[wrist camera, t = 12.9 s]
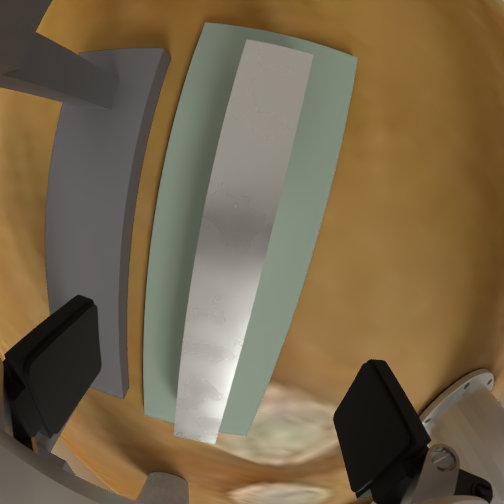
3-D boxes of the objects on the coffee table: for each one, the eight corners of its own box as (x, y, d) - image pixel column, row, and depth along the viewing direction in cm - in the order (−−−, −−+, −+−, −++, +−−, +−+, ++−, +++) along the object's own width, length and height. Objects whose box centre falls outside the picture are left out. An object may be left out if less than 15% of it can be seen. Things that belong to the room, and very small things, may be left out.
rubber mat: (354, 61, 12) (357, 58, 12) (246, 431, 20) (246, 436, 20) (206, 26, 12) (205, 22, 11) (146, 410, 20) (144, 414, 19)
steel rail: (301, 75, 12) (313, 54, 9) (218, 415, 19) (214, 444, 16) (247, 63, 12) (246, 39, 9) (180, 407, 19) (174, 435, 16)
